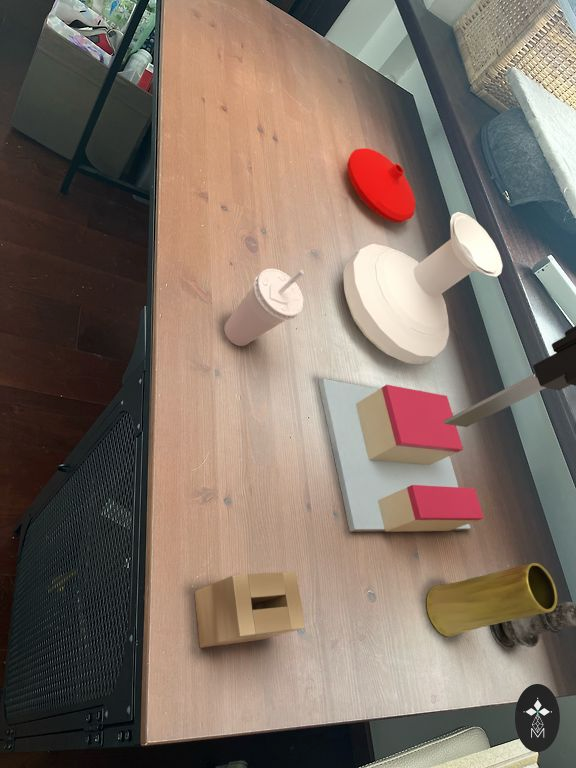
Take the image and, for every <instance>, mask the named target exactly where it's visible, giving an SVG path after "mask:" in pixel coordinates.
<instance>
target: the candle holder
mask: <svg viewBox="0 0 576 768" xmlns="http://www.w3.org/2000/svg"><path fill="white" fill-rule="evenodd" d="M449 228H450V239H449V240H447V241H446V242H445V243H443V244H442V245H441V246H440V247H438V248H436V250H435V251H433V252H432V253H431V254H429V255H428V256H427V257H425V259H423V260H421V261H420V262H419V261H417V259H415V258H413V257H411V256H409V255H408V254H406V253H404V252H402V251H400V250H397V249H394V248H392V247H390V246H385V245H381V244H377V243H371V244H369V245H367V246H364V247H362V248H361V249H359V250H358V251H357V252H355V253H354V254H353V255H352V256H351V257H350V258H349V259H348V261H347V263H346V266H345V267H344V268H343V270H342V276H343V290H344V291H343V292H344V296H345V299H346V303H347V306H348V308H349V312H350V314H351V317H352V320H353V322H354V323H355V324H356V326H357V327H358V328H359V330H360V331H361V332H362V334H363V336H364V337H365V338H366V339H368V340H369V341H370V342H371V343H372V344H373V345H374V346H375V347H376V348H377V349H378V350H380V351H382V353H384V354H386V355H388V356H390V357H393V358H395V359H397V360H399V361H402V362H404V363H406V364H421V365H423V364H426V363H427V362H429V361H431V360H432V359H434V358H435V357H437V356H438V355H439V354H440V353H441V352H442V351H444V349H446V347H447V343H448V340H449V335H450V327H449V315H448V311H447V305H446V302H445V299H444V296H443V293H444V292H446V291H447V290H450V289H451V288H452V287H453V286H454V285H456V284H457V283H459V282H460V281H462V280H463V279H464V278H466V277H468V276H469V275H470V274H472V273H473V272H474V271H475V272H477V273H480V274H483V275H487V276H489V277H495V278H497V277H498V276H500V275H501V274H502V272H503V271H502V270H503V266H504V265H503V261H502V257H501V254H500V252H499V249H498V248H497V246H496V244H495V242H494V241H493V238H492V237H490V235H489V234H488V231H486V229H485V228H484V227H483V226H482V225H481V224H479V222H478V221H477V220H476V219H474V218H473V217H471V216H470V215H468V214H466V213H462V212H461V211H460V212H459V211H456V212H454V213H452V215H451V218H450V221H449Z"/></svg>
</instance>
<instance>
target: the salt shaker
mask: <svg viewBox="0 0 576 768" xmlns="http://www.w3.org/2000/svg"><path fill="white" fill-rule="evenodd" d="M571 627H576V603H574V602H572V601H563V602H559V603H558V602H557V605H556V607H555V609H554V610H553V611H552V612H547V613H542V614H537V615H534V616H530V617H525V618H520V619H516V620H511V621H506V622H502V623H498V624H493V625H489V628H490V631H491V634H492V636H493V638H494V640H495V642H496V643H497V644H498V645H499V646H500V647H502V648H503V649H511V648H512V649H513V647H514V646H515V644H516V645H519V646H524V647H527V648H534V647H536V646H537V645H538V644H539V642H540V638H541V634H544V633H548V632H551V633H552V634H557V633H559V632H560V631H561V629H566V628H571Z"/></svg>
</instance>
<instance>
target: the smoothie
mask: <svg viewBox="0 0 576 768" xmlns="http://www.w3.org/2000/svg"><path fill="white" fill-rule="evenodd" d="M304 274H305V271H304V270H303V269H299V270H298V271H297V272H296V273H295V274H294V275H292V277H291V276H290V275H289V274H287V273H286V272H284V271H282V270H280V269H278V268H277V269H276V268H266V269H264V270H262V271H261V272H260V273H259V274H257V276H256V277H255V279H254V283H253V285H252V286H251V288H250V289H249V291H248V292H247V294H246V295H245V296H244V298H243V299H242V300H241V302H240V303H239V304H238V305H237V307H236V308H235V310H234V311H233V312H232V314H231V315H230V317H229V318H228V319H227V321H226V322H225V324H224V327H223V331H224V334H225V337H226V338H227V339H228V340H229V342H231V343H232V344H233V345H235V346H238V347H244V346H246V345H249V344H251V342H253V341H254V340H256V339H258V338H259V337H261V336H262V335H264V334H266V333H268V332H269V331H271V330H272V329H274V328H275V327H277V326H279V325H281V324H283V322H285V321H289V320H293V319H295V318H296V317H297V316H298V315H299V314H300V313H301V312H302V310H303V308H304V296H303V293H302V291H301V289H300V287H299V285H298V284H297V283H296V281H297V280H299V279H300V278H301V277H302V276H303V275H304Z"/></svg>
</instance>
